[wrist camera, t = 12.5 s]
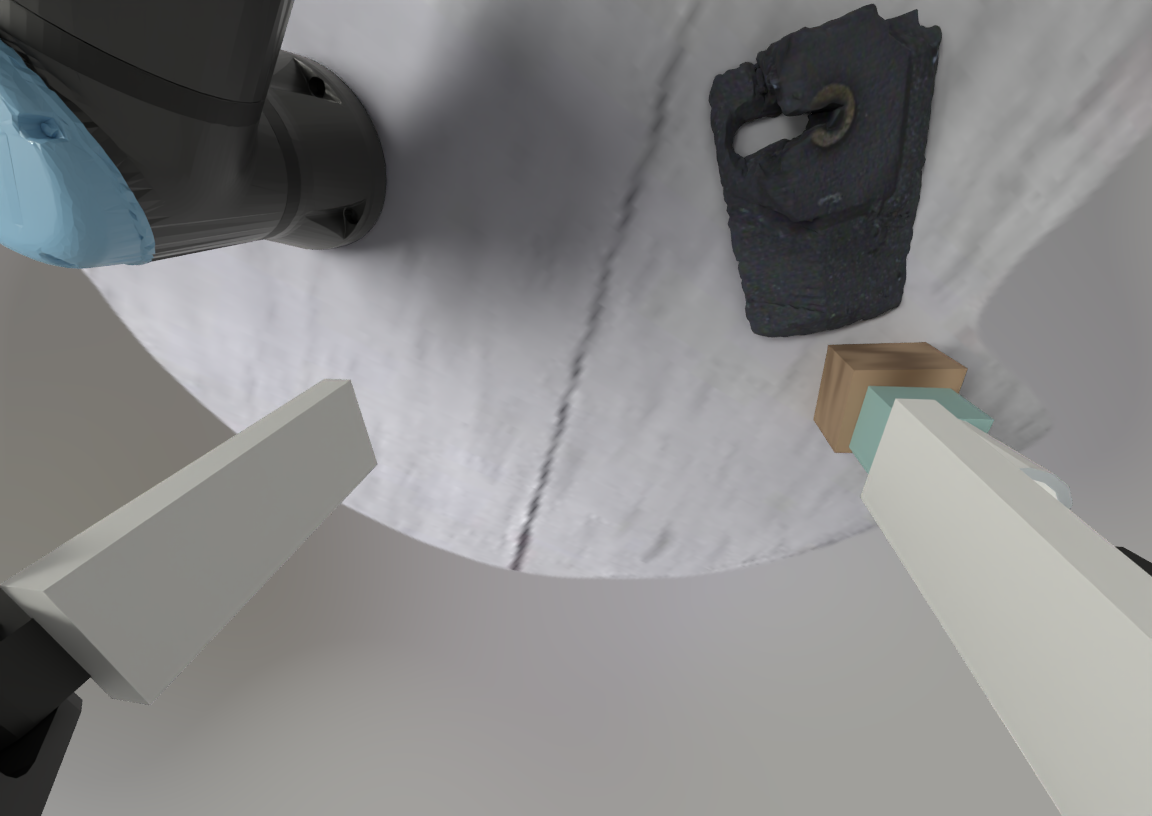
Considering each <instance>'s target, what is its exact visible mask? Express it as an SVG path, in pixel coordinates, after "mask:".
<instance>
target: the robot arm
mask: <svg viewBox="0 0 1152 816" xmlns="http://www.w3.org/2000/svg"><path fill="white" fill-rule="evenodd" d="M293 3H294V0H0V244H2V245H4V246H6V247H7V248H9V249H11V250H13V251H15V252H18V253H20V254H22V255H24V256H27V257H29V258H32V259H34V260H37V261H40V262H43V263H46V264H50V265H55V266H60V267H66V268H93V267H101V266H109V265H118V264H126V265H142V264H146V263H149V262H151V261H157V260H162V259H167V258H172V257H177V256H182V255H187V254H192V253H197V252H202V251H207V250H212V249H217V248H222V247H227V246H232V245H237V244H242V243H247V242H252V241H257V240H263V239H265V240H269V241H273V242H278V243H282V244H287V245H291V246H295V247H300V248H304V249H312V250H324V249H331V248H336V247H340V246H344V245H348V244H351V243H353V242H355V241H357V240H359V239H360V238H362V237H363V236H364V235H365V234H366V233H368V232H369V230H370V229H371V228H372V227H373V225H374V224H375V222H376V221H377V219H378V217H379V215H380V212H381V210H382V207H383V203H384V198H385V192H386V169H385V161H384V156H383V152H382V148H381V144H380V141H379V138H378V135H377V133H376V130H375V128H374V126H373V124H372V122H371V120H370V118H369V116H368V114H367V112H366V111H365V109H364V107H363V106H362V104H361V103H360V101H359V100H358V99H357V97H356V96H355V95H354V94H353V92H352V91H351V90H350V89H349V88H348V87H347V86H346V85H345V84H344V83H343V82H342V81H341V80H340V79H339V78H338V77H337V76H336V75H335V74H333V73H332V72H331V71H329V70H328V69H327V68H325V67H324V66H322V65H320V64H318V63H317V62H315V61H313V60H310V59H308V58H305V57H303V56H300V55H297V54H293V53H290V52H287V51H284V50H280V48H281V45H282V41H283V38H284V34H285V31H286V27H287V24H288V21H289V17H290V14H291V10H292V7H293ZM376 465H377V461H376V458H375V455H374V452H373V449H372V446H371V442H370V439H369V436H368V433H367V430H366V427H365V424H364V421H363V417H362V414H361V411H360V408H359V405H358V402H357V399H356V396H355V392H354V389H353V386H352V383H351V380H341V379H324V380H322V381H321V382H319V383H317V384H316V385H314V386H313V387H311V388H310V389H308V390H306V391H305V392H303V393H302V394H300V395H298V396H297V397H295V398H294V399H292V400H291V401H289V402H287V403H286V404H284V405H283V406H281V407H279V408H278V409H276V410H275V411H273V412H272V413H270V414H268V415H267V416H265V417H264V418H262V419H260V420H259V421H257V422H256V423H254V424H253V425H251V426H249V427H248V428H246V429H245V430H243V431H241V432H240V433H238V434H237V435H235V436H234V437H232V438H230V439H229V440H227V441H226V442H224V443H222V444H221V445H219V446H218V447H216V448H214V449H213V450H211V451H210V452H208V453H207V454H205V455H203V456H202V457H201V458H199V459H197V460H196V461H194V462H192V463H191V464H189V465H188V466H186V467H185V468H183V469H181V470H180V471H178V472H177V473H175V474H173V475H172V476H170V477H169V478H167V479H166V480H164V481H163V482H161V483H159V484H157V485H156V486H154V487H153V488H151V489H150V490H148V491H146V492H145V493H143V494H142V495H140V496H139V497H137V498H135V499H134V500H132V501H131V502H129V503H127V504H126V505H125V506H123V507H121V508H119V509H118V510H116V511H115V512H113V513H112V514H110V515H108V516H107V517H105V518H104V519H102V520H100V521H99V522H97V523H96V524H94V525H93V526H91V527H89V528H88V529H86V530H85V531H83V532H82V533H80V534H78V535H77V536H75V537H74V538H72V539H70V540H69V541H67V542H66V543H64V544H62V545H61V546H59V547H58V548H56V549H54V550H53V551H51V552H50V553H48V554H47V555H45V556H43V557H42V558H40V559H39V560H37V561H36V562H34V563H33V564H31V565H29V566H28V567H26V568H25V569H23V570H21V571H20V572H18V573H17V574H15V575H13V576H12V577H10V578H9V579H7V580H5V581H4V582H2V583H1V584H0V816H41V814H42V812H43V809H44V807H45V804H46V801H47V799H48V796H49V794H50V791H51V788H52V786H53V783H54V781H55V778H56V776H57V773H58V770H59V768H60V765H61V763H62V760H63V757H64V755H65V752H66V750H67V747H68V745H69V742H70V739H71V737H72V734H73V731H74V729H75V726H76V724H77V721H78V719H79V716H80V713H81V709H82V699H81V698H80V697H78V695H77V694H75V693H74V691H76V690H77V689H78V688H79V687H80V686H81V685H82V684H83V683H85V682H86V681H87V680H88V679H89V678H90V677H91V678H92V679H93V680H94V681H95V682H96V683H97V684H98V685H99V686H100V687H101V688H102V689H103V690H104V691H105V692H106V693H107V694H108V695H109V696H110V697H111V698H112V699H118V700H123V701H129V702H134V703H140V704H145V705H151V704H152V703H153V702H154V701H155V700H156V699H157V698H158V697H159V695H160V694H161V693H162V692H163V691H164V690H165V689H166V688H167V687H168V686H169V685H170V684H171V683H172V682H173V681H174V679H175V678H176V677H177V676H178V675H179V674H180V673H181V672H182V671H183V670H184V669H185V667H187V666H188V665H189V664H190V663H191V661H192V660H193V659H194V658H195V657H196V656H197V655H198V654H199V653H200V652H201V651H202V650H203V649H204V648H205V647H206V646H207V645H208V644H209V642H210V641H211V640H212V639H213V638H214V637H215V636H216V635H217V634H218V633H219V632H220V631H221V630H222V629H223V628H224V627H225V625H226V624H227V623H228V622H229V621H230V620H231V619H232V618H233V617H234V616H235V615H236V614H237V613H238V612H239V611H240V610H241V609H242V607H243V606H244V605H245V604H246V603H247V602H248V601H249V600H250V599H251V598H252V597H253V596H254V595H255V594H256V592H258V591H259V589H260V588H261V587H262V586H263V585H264V584H265V583H266V582H267V581H268V580H269V579H270V578H271V577H272V576H273V575H274V573H275V572H276V571H277V570H278V569H279V568H280V567H281V566H282V565H283V564H284V563H285V562H286V561H287V560H288V559H289V558H290V557H291V555H292V554H293V553H294V552H295V551H296V550H297V549H298V548H299V547H300V546H301V545H302V544H303V543H304V541H306V539H308V537H309V536H310V535H311V534H312V533H313V532H314V531H315V530H316V529H317V528H318V527H319V526H320V525H321V524H322V523H323V522H324V521H325V519H326V518H327V517H328V516H329V515H330V514H331V513H332V512H333V511H334V510H335V509H336V508H337V507H338V506H339V505H340V504H341V503H342V501H343V500H344V499H345V498H346V497H347V496H348V495H349V494H350V493H351V492H352V491H353V490H354V489H355V488H356V487H357V486H358V484H359V483H360V482H361V481H362V480H363V479H364V478H365V477H366V476H367V475H368V474H369V473H370V472H371V471H372V470H373V469H374V468H375V466H376ZM861 499H862V500H863V502H864V504H865V505H866V507H867V508H868V510H869V511H870V513H871V515H872V516H873V518H874V519H875V521H876V523H877V524H878V526H879V527H880V529H881V530H882V532H883V534H884V535H885V537H886V538H887V540H888V541H889V543H890V545H891V546H892V548H893V549H894V551H895V553H896V554H897V556H898V557H899V559H900V561H901V562H902V564H903V565H904V567H905V568H906V570H907V572H908V573H909V575H910V576H911V578H912V579H913V581H914V583H915V584H916V586H917V587H918V589H919V590H920V592H921V593H922V595H923V597H924V598H925V600H926V602H927V603H928V605H929V606H930V608H931V609H932V611H933V613H934V614H935V616H936V617H937V619H938V621H939V622H940V624H941V625H942V627H943V628H944V630H945V632H946V633H947V635H948V636H949V638H950V640H951V641H952V643H953V644H954V646H955V648H956V649H957V651H958V652H959V654H960V655H961V657H962V658H963V660H964V662H965V663H966V665H967V666H968V668H969V670H970V671H971V673H972V674H973V676H974V678H975V679H976V681H977V682H978V684H979V685H980V687H981V689H982V690H983V692H984V693H985V695H986V697H987V698H988V700H989V701H990V703H991V704H992V706H993V708H994V709H995V711H996V712H997V714H998V715H999V717H1000V719H1001V720H1002V722H1003V723H1004V725H1005V726H1006V728H1007V730H1008V731H1009V733H1010V734H1011V736H1012V738H1013V739H1014V741H1015V742H1016V744H1017V746H1018V747H1019V749H1020V750H1021V752H1022V753H1023V755H1024V757H1025V758H1026V760H1027V761H1028V763H1029V764H1030V766H1031V768H1032V769H1033V771H1034V772H1035V774H1036V776H1037V777H1038V779H1039V780H1040V782H1041V783H1042V785H1043V787H1044V788H1045V790H1046V791H1047V793H1048V795H1049V796H1050V798H1051V799H1052V801H1053V802H1054V804H1055V805H1056V807H1057V809H1058V810H1059V812H1060V814H1061V815H1062V816H1152V563H1151V562H1149V561H1147V560H1145V559H1143V558H1141V557H1140V556H1138V555H1136V554H1135V553H1133V552H1131V551H1129V550H1127V549H1126V548H1124V547H1115V546H1113V545H1112V544H1111V543H1110V542H1109V541H1107V540H1106V539H1105V538H1104V537H1102V536H1101V535H1100V534H1099V533H1097V532H1096V531H1095V530H1094V529H1093V528H1091V527H1090V526H1089V525H1088V524H1086V523H1085V522H1084V521H1083V520H1082V519H1080V518H1079V517H1078V516H1076V515H1075V514H1074V513H1073V512H1072V511H1071V510H1069V509H1068V508H1067V507H1066V506H1064V505H1063V504H1062V503H1061V502H1059V501H1058V500H1057V499H1056V498H1055V497H1053V496H1052V495H1051V494H1050V493H1048V492H1047V491H1046V490H1045V489H1044V488H1042V487H1041V486H1040V485H1039V484H1037V483H1036V482H1035V481H1034V480H1033V479H1031V478H1030V477H1029V476H1028V475H1026V474H1025V473H1024V472H1023V471H1021V470H1020V469H1019V468H1018V467H1017V466H1015V465H1014V464H1013V463H1012V462H1010V461H1009V460H1008V459H1007V458H1006V457H1004V456H1003V455H1002V454H1001V453H999V452H998V451H997V450H996V449H995V448H993V447H992V446H991V445H990V444H988V443H987V442H986V441H985V440H983V439H982V438H981V437H980V436H979V435H977V434H976V433H975V432H974V431H972V430H971V429H970V428H969V427H968V426H966V425H965V424H964V423H963V422H961V421H960V420H959V419H958V418H956V417H955V416H954V415H953V414H952V413H950V412H949V411H948V410H947V409H945V408H944V407H943V406H942V405H941V404H939V403H938V402H937V401H936V400H926V399H897V398H895V401H894V404H893V407H892V410H891V412H890V415H889V418H888V421H887V424H886V426H885V429H884V432H883V435H882V438H881V440H880V443H879V446H878V449H877V452H876V454H875V457H874V460H873V463H872V466H871V469H870V471H869V474H868V477H867V480H866V483H865V485H864V488H863V491H862V494H861Z"/></svg>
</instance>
